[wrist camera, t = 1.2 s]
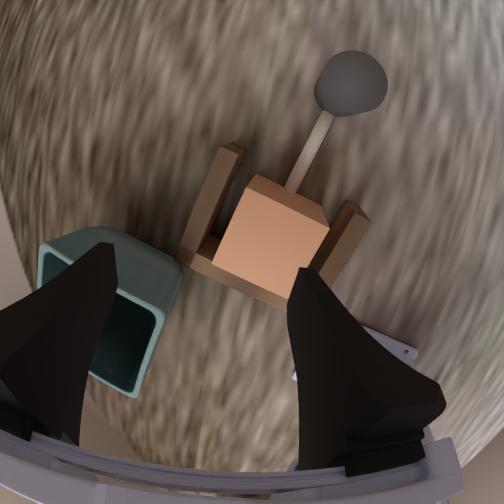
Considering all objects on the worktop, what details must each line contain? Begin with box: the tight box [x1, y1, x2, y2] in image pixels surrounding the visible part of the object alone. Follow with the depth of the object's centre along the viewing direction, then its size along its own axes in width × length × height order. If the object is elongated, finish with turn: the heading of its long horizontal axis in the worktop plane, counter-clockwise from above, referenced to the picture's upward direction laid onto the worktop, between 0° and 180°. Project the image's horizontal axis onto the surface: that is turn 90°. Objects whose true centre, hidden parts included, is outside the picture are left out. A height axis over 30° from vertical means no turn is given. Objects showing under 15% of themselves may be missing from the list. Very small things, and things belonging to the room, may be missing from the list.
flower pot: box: [37, 227, 183, 398], centre depth 21 cm, size 9×9×9 cm
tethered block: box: [211, 51, 388, 299], centre depth 17 cm, size 5×14×6 cm, turn 155°
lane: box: [174, 143, 371, 313], centre depth 20 cm, size 10×8×4 cm
